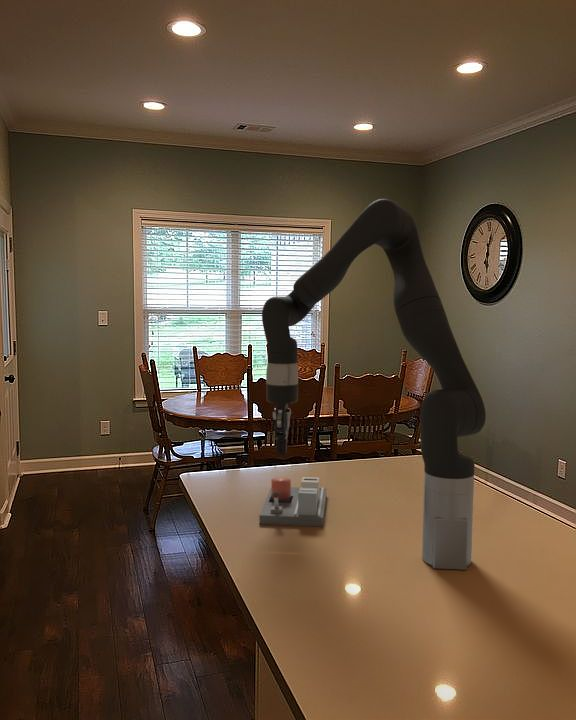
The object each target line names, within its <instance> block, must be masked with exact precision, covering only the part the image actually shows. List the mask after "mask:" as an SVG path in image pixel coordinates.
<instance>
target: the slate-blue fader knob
mask: <svg viewBox="0 0 576 720" xmlns="http://www.w3.org/2000/svg"><path fill="white" fill-rule="evenodd" d="M316 514H317V488H301V487H300V488H299V492H298V515H310V516H316Z"/></svg>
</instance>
